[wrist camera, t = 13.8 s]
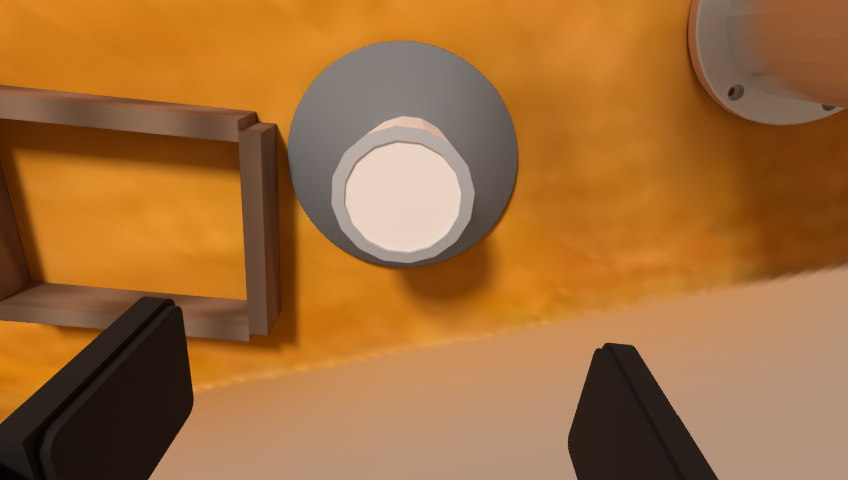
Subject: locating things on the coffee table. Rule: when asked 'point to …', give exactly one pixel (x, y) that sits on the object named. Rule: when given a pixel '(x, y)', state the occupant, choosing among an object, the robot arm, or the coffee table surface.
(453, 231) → the white cylinder
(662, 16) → the coffee table surface
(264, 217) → the brown rectangular frame
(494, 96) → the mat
